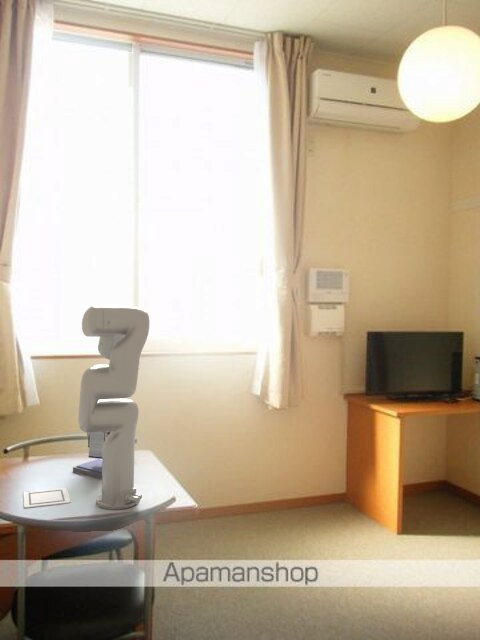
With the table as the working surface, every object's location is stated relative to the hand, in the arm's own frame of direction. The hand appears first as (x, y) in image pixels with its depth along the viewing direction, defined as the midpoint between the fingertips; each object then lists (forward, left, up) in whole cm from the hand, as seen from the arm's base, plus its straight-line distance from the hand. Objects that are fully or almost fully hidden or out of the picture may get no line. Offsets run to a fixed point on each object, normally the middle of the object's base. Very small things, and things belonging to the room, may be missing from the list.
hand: (99, 448), depth 193 cm
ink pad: (0, 0, -8) cm, 8 cm away
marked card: (-6, +28, -8) cm, 30 cm away
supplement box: (0, 0, -3) cm, 3 cm away
